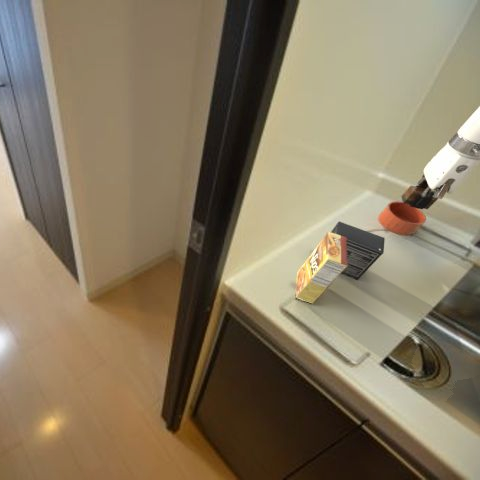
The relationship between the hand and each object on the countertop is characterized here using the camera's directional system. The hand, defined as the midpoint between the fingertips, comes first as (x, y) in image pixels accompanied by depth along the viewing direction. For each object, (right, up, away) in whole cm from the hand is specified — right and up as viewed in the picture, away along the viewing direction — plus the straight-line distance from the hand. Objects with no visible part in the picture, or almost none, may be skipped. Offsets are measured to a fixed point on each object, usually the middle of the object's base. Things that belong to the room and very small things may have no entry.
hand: (414, 202), depth 90 cm
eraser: (0, 0, 0) cm, 0 cm away
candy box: (-37, -22, -10) cm, 44 cm away
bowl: (0, -6, +6) cm, 8 cm away
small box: (-25, -17, -5) cm, 30 cm away
